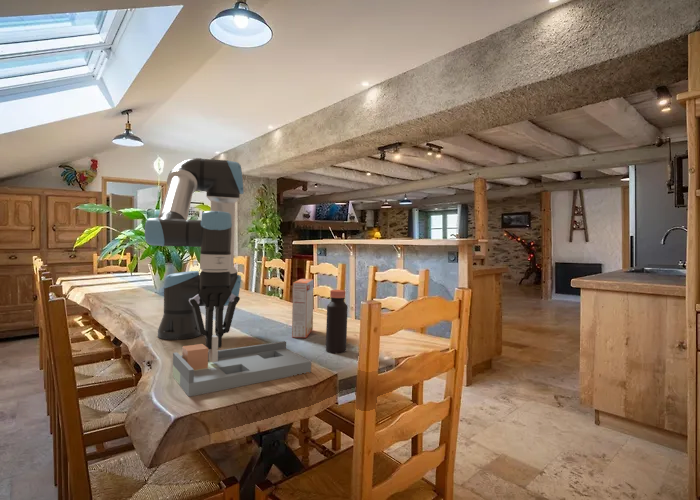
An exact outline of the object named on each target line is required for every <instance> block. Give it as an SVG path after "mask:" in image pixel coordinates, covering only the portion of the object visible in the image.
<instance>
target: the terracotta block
mask: <svg viewBox="0 0 700 500" xmlns="http://www.w3.org/2000/svg"><path fill="white" fill-rule="evenodd" d="M181 349H182V351H181V353H182V354H181V356H182V358H183V359H184V360H185V361H186V362H187V363H188V364H189V365H190V366H191V367H192V368H193V369H194V370H197V369H204V368H208V352H209V349H208V348H207V347H206V346H205V345H204V344H203V343H197V344H191V345H183V346H182V348H181Z"/></svg>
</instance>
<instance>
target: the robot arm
mask: <svg viewBox="0 0 700 500" xmlns="http://www.w3.org/2000/svg"><path fill="white" fill-rule="evenodd" d="M243 181H244V179H243V172H242V166H241V164H240V163H239V162H237V161H232V160H225V159H224V160H223V159H212V158H211V159H210V158H201V157H196V158H195V157H193V158H189V159H186V160H184V161H182V162H179V163H178V164H176V165H175V166H174V167H173V168H172V169H171V170H170V171H169V173H168V175H167V179H166V184H167V189H166V193H165V195H164V199H163V201H162V205H161V207H160V210H159V213H158V217H150V218H149V217H148V218H147V219H146V220H145V224H144V240H145V242H146V244H148V245H150V246H161V247H195V248H196V247H197V248H200V259H199V260H200V263H199V269H200V270H202V271H200V272H199V270H191V271H181V272H175V273H169V274H168V275H166V276H165V278H164V282H163V283H164V286H163V315H162V318H161V321H160V324H159V326H158V329H157V337H158V338H159V339H162V340H186V339H187V340H188V339H194V338H197V337H200V336H202V337H203V336H204V337H205V340H204V341H205V346H206V347H207V348H208V352H209V360H210V361H211V362H218V350H219V349H220V348H222V345H223V344H222V342H223V339H222V338H223V336H224V334H226V333H230V331H231V326H232V322H233V318H234V314H235V310H236V306H237V305H238V303H239V301H240V299H241V297H240V296H239V294H240V289H241V283H242V275H241V274H238V269H236V267H235V266H234V262H235V261H234V258H235V254H234V253H235V228H236V227H235V225H236V223H235V222H236V221H235V218H236V217H235V216H236V203H237V202H238V201H239V200H240V199H241V198H240V196H241V195H243V194H244V193H245V192H244V191H245V190H244V182H243ZM195 192H204V193H205V192H206V196H205V197H206V199H208V200H209V201H210V210H205V211H203V212H202V214H201V218H200V219H201V220H199V219H188V217H189V212H190V207H191V202H192V197H193V194H194V193H195ZM200 307H204V309H205V319H204V320H205V321H204V320H203V316H202V311H201V308H200ZM225 307H227V309H226V313H225V316H224V310H225ZM214 311H215V317H214ZM214 321H215V323H214ZM204 322H205V323H204ZM204 324H205V325H204ZM214 326H215V327H214ZM213 328H214V329H213ZM213 330H214V333H213Z"/></svg>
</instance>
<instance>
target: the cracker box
mask: <svg viewBox="0 0 700 500" xmlns="http://www.w3.org/2000/svg"><path fill="white" fill-rule="evenodd" d="M314 285H315V283H314V278H300V279H297V280H296V281H294V282H292V310H291V311H292V318H291V319H292V322H291V323H292V325H291V326H292V327H291V338H295V339H296V338H297V339H300V338H301V339H307V338H308V337H309V335H310V334H311V332H312V331H313V330H314V327H313V325H314Z"/></svg>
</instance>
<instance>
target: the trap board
mask: <svg viewBox="0 0 700 500" xmlns="http://www.w3.org/2000/svg"><path fill="white" fill-rule="evenodd" d="M306 372H309V373H312V361H311V360H309V359H307V358H305V357H304V356H302V355H300V354H298V353H297V352H294V351H292V350H290V349H288V348H287V341H285V340H283V341H278V342H277V341H276V342H268V343H262V344H261V343H260V344H255V345H248V346H247V345H246V346H241V347H234V348H226V349H225V348H224V349H218V362H211V361H210V360H209V351H208V368H204V369H197V370H194V369H193V368H192V367H191V366H190V365H189V364H188V363H187V362H186V361H185V360H184V359H183V358H182V355H181V354H180V353H179V352H177V351H175V352H173V353H172V377H173V378H174V380H175V381H176V382H177V383H178V385H179V386H180V388H181V389H182V391H183V392H184V393H185V394H186V395H187V396H188V397H195V396H200V395H203V394H204V395H205V394H209V393H214V392H219V391H224V390H228V389H233V388H238V387H240V388H241V387H245V386H249V385H254V384H258V383H264V382H269V381H274V380H279V379H283V378H289V377H293V375H294V376H298V375H297V374H299V375H303V374H302V373H304V374H307V373H306Z"/></svg>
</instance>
